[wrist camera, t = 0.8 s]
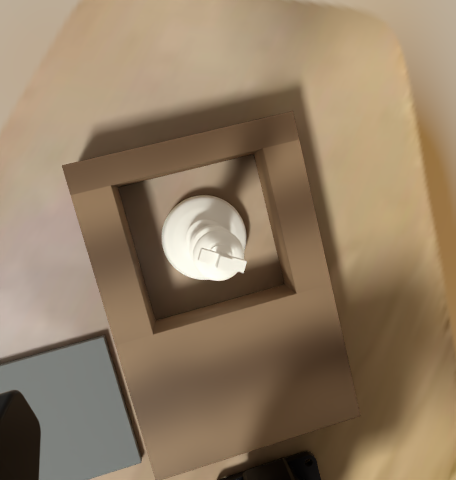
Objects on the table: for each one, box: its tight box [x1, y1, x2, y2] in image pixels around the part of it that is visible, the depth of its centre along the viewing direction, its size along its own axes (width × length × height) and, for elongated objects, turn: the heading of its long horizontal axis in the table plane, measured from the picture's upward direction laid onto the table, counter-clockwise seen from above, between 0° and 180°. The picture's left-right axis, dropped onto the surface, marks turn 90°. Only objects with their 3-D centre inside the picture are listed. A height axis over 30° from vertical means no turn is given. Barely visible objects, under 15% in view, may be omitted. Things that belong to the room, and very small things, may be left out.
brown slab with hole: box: [62, 111, 360, 480], centre depth 23 cm, size 18×12×2 cm
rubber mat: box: [0, 335, 142, 480], centre depth 23 cm, size 8×8×1 cm
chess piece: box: [162, 195, 247, 281], centre depth 19 cm, size 5×5×10 cm
